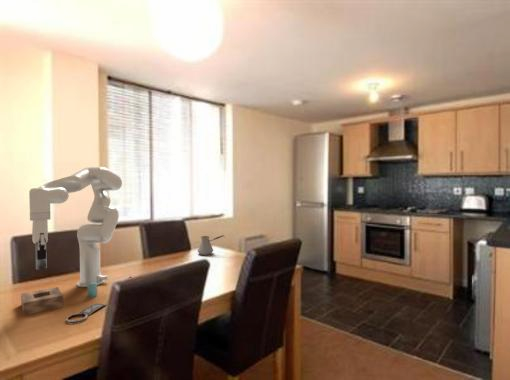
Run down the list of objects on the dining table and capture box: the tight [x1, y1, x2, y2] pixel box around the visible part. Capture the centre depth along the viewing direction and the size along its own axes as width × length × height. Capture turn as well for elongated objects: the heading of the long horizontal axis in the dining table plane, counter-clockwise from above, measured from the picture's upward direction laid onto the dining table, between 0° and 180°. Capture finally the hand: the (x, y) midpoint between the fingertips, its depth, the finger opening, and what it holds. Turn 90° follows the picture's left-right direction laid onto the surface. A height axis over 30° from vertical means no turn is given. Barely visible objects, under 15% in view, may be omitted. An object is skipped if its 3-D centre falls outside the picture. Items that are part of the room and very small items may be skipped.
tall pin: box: [34, 239, 48, 271], centre depth 142 cm, size 4×4×13 cm
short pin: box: [87, 282, 98, 298], centre depth 155 cm, size 4×4×6 cm
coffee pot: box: [197, 234, 226, 256], centre depth 239 cm, size 21×12×15 cm, turn 71°
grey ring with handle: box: [65, 303, 107, 325], centre depth 135 cm, size 8×19×2 cm, turn 168°
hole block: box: [20, 287, 64, 316], centre depth 143 cm, size 14×14×5 cm
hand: (41, 257), depth 142 cm, fingers closed on tall pin, 4 cm apart
